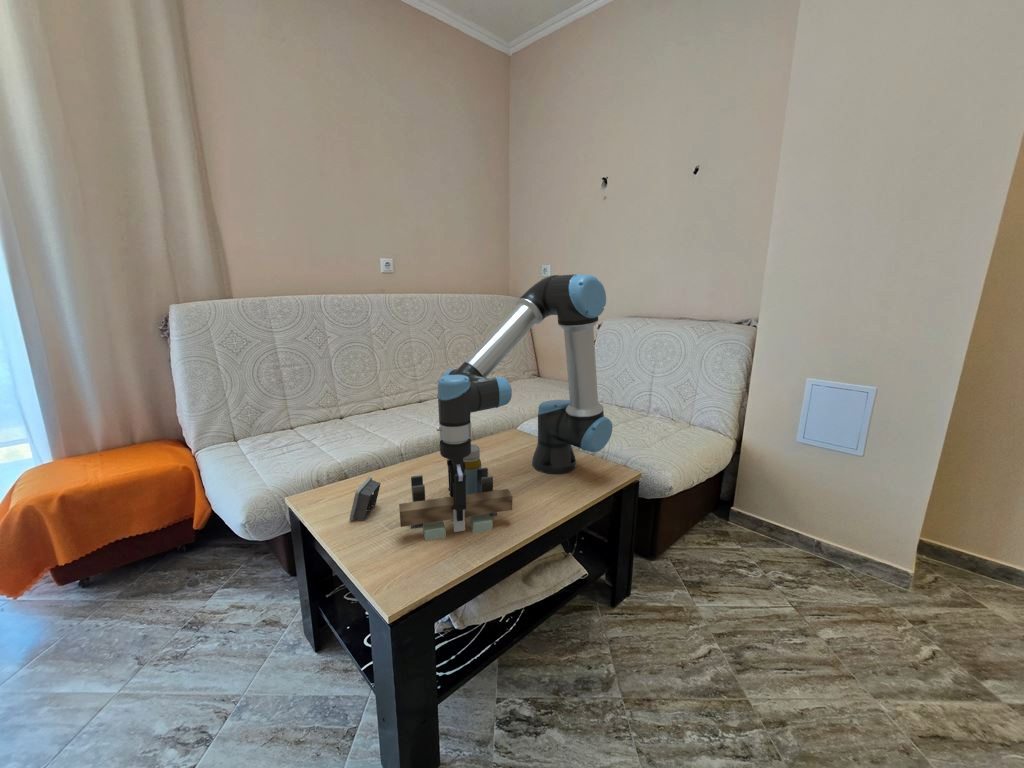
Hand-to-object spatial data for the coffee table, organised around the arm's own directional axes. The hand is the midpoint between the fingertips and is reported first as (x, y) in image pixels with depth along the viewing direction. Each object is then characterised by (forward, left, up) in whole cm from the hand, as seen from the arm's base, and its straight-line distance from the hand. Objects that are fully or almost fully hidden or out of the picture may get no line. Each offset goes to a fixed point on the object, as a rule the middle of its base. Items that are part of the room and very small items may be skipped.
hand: (457, 525), depth 106 cm
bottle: (-7, -17, -2) cm, 19 cm away
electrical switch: (+23, -16, -2) cm, 28 cm away
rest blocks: (0, 0, -1) cm, 1 cm away
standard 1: (+9, -8, -1) cm, 12 cm away
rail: (0, 0, +3) cm, 3 cm away
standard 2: (-9, -8, -1) cm, 12 cm away
